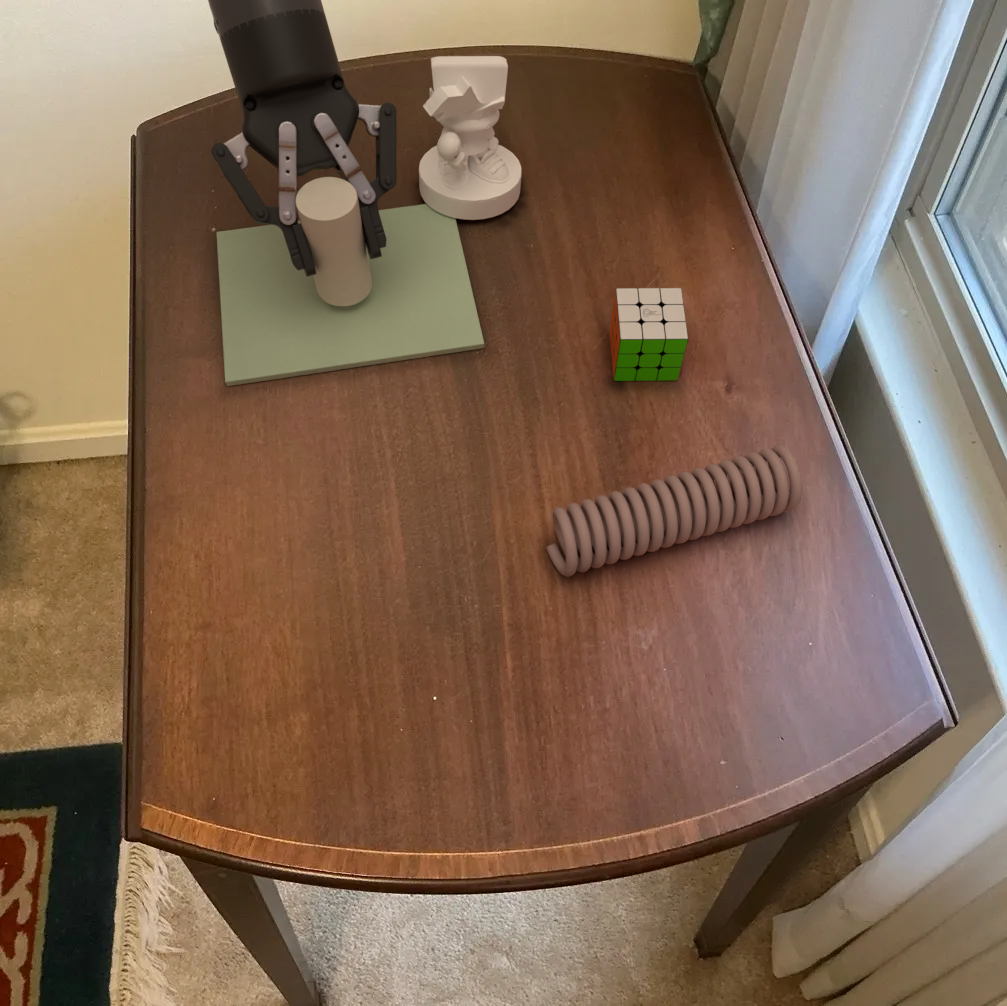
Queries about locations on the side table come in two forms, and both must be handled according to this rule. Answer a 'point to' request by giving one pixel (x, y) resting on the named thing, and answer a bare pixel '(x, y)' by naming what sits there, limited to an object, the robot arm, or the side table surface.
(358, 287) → the cylinder
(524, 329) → the side table surface
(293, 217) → the robot arm
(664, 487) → the coil
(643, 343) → the rubik's cube
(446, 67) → the character figurine
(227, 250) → the mat
